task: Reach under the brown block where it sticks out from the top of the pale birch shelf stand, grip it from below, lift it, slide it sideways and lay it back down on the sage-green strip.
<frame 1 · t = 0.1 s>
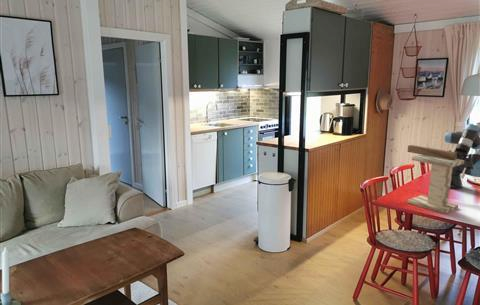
hand: (450, 175, 228), 15 cm above the table, tool tilted 35°, fingers open, 13 cm apart
brown block: (430, 155, 221), point 29 cm above the table, touching shelf stand
shelf stand: (432, 205, 218), on the table
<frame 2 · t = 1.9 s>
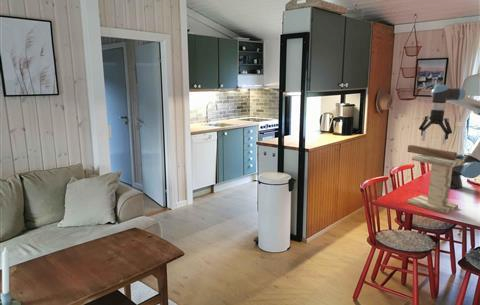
hand: (433, 142, 234), 34 cm above the table, tool pointing down, fingers open, 13 cm apart
nothing on the table moved.
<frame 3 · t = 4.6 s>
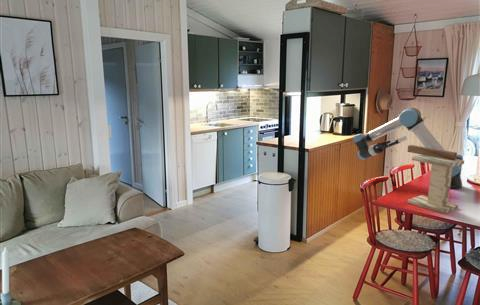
hand: (400, 138, 250), 34 cm above the table, tool pointing upward, fingers open, 13 cm apart
nothing on the table moved.
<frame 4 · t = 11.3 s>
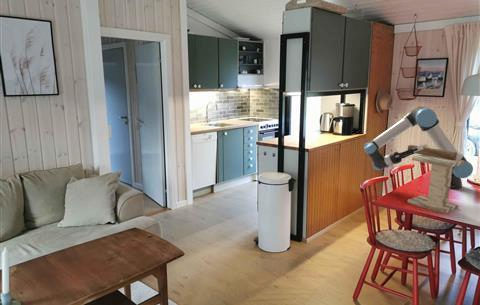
hand: (424, 146, 223), 34 cm above the table, tool pointing upward, fingers closed on brown block, 4 cm apart
brown block: (430, 155, 221), point 29 cm above the table, touching gripper, shelf stand
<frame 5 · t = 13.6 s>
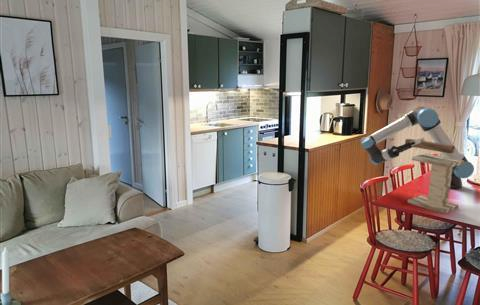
hand: (422, 140, 221), 38 cm above the table, tool pointing upward, fingers closed on brown block, 4 cm apart
brown block: (428, 148, 219), point 33 cm above the table, touching gripper
when the fingers open (35 cm above the table, at t = 16.0 s): brown block drops 1 cm, resting on shelf stand.
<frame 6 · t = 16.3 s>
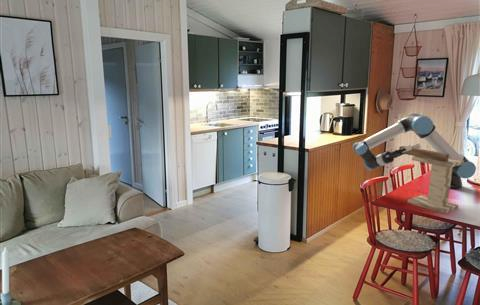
hand: (415, 146, 219), 35 cm above the table, tool pointing upward, fingers open, 9 cm apart
brown block: (422, 156, 216), point 29 cm above the table, touching shelf stand
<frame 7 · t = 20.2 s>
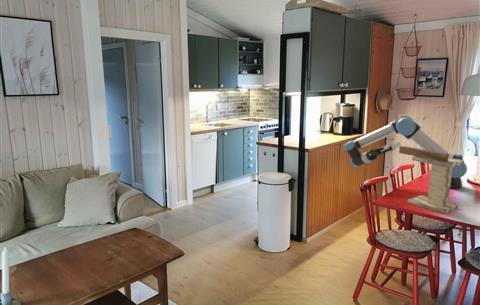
hand: (394, 145, 240), 31 cm above the table, tool pointing upward, fingers open, 13 cm apart
nothing on the table moved.
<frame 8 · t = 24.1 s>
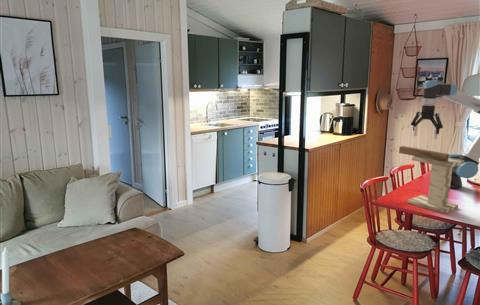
hand: (425, 137, 238), 37 cm above the table, tool pointing down, fingers open, 13 cm apart
nothing on the table moved.
at the end: brown block inside the target area (0.6 cm from its centre), point 29.3 cm above the table; the gripper is holding nothing; brown block moved 9.0 cm from its start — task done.
